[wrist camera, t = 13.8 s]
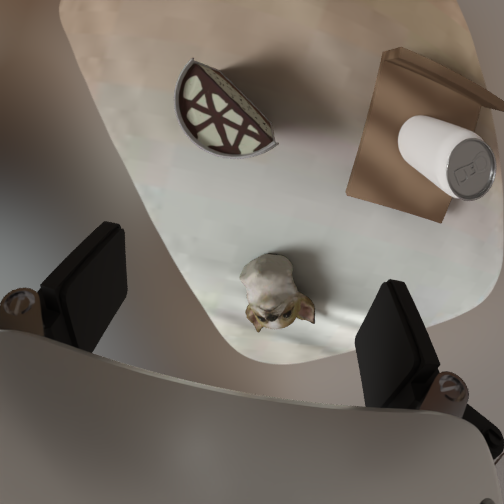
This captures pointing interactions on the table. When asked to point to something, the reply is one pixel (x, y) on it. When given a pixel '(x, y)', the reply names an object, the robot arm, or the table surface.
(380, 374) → the robot arm
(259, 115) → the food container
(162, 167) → the table surface
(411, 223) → the table surface
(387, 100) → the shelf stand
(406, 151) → the can
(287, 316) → the ceramic sculpture
